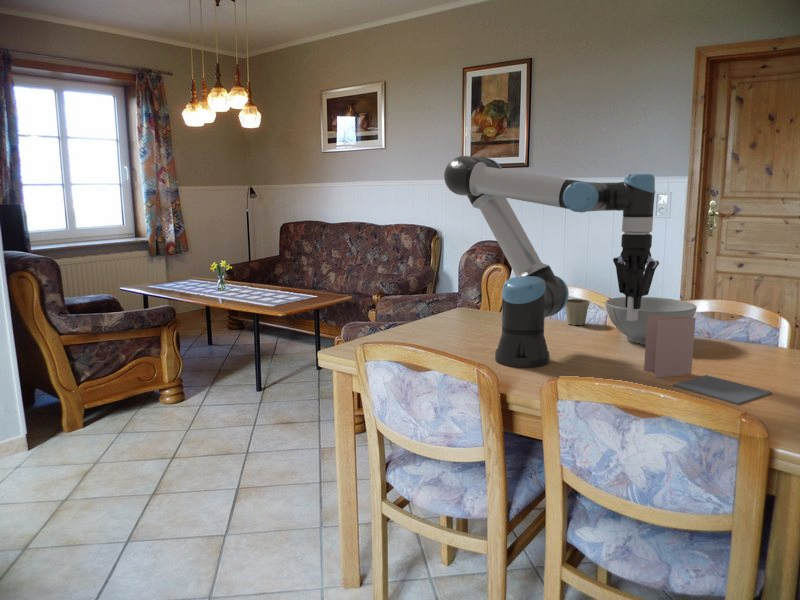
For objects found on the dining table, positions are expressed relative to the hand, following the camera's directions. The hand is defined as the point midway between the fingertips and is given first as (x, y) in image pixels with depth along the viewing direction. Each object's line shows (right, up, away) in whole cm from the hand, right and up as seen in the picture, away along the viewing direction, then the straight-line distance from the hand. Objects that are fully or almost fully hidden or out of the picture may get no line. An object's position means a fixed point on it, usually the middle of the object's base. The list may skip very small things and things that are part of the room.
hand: (632, 320), depth 161 cm
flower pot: (+1, -4, +54) cm, 55 cm away
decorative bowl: (+16, -8, +29) cm, 34 cm away
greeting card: (+6, -14, -8) cm, 17 cm away
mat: (+14, -16, -20) cm, 29 cm away
